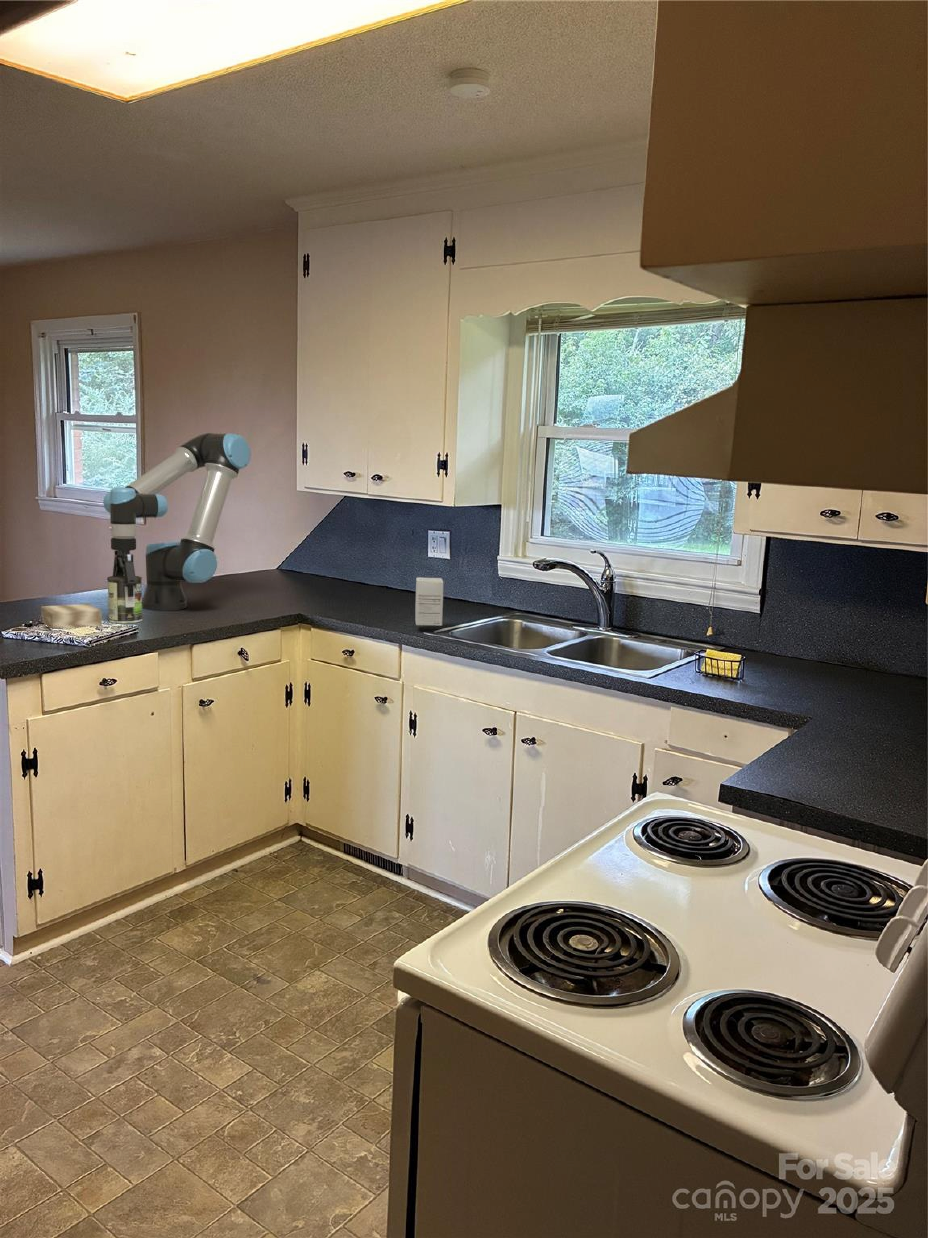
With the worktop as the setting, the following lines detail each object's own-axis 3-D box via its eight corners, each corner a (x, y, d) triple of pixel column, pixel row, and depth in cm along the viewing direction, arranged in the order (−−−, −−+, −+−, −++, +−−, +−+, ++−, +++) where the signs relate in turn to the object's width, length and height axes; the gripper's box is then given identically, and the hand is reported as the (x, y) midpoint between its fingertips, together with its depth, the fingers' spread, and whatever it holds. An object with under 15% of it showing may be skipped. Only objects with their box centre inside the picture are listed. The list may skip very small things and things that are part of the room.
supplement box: (414, 620, 319) (415, 577, 316) (440, 621, 320) (442, 577, 317) (415, 625, 310) (416, 580, 307) (442, 626, 311) (444, 581, 308)
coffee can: (148, 619, 303) (147, 576, 301) (131, 624, 293) (130, 580, 291) (120, 617, 305) (118, 574, 303) (101, 622, 295) (100, 578, 293)
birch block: (89, 622, 296) (88, 603, 295) (101, 629, 285) (101, 610, 284) (41, 625, 288) (41, 606, 287) (53, 633, 277) (52, 613, 276)
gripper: (101, 533, 303) (103, 598, 306) (120, 540, 282) (122, 610, 286) (125, 533, 307) (127, 597, 310) (146, 540, 286) (147, 609, 290)
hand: (124, 604), depth 298 cm, fingers open, 13 cm apart
